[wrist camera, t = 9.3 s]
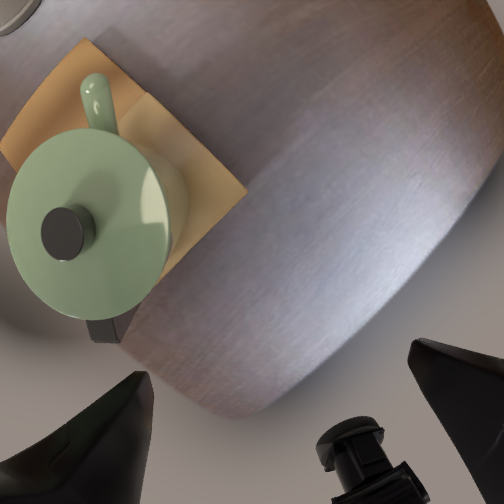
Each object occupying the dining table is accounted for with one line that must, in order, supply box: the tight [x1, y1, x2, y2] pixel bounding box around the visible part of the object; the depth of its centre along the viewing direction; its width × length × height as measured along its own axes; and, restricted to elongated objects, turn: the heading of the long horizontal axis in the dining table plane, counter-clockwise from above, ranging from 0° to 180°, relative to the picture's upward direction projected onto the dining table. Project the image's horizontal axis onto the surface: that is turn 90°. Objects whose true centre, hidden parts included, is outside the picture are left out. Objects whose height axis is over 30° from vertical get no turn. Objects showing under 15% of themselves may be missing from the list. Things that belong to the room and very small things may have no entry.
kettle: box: [7, 73, 190, 343], centre depth 11 cm, size 10×6×8 cm, turn 0°
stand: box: [0, 37, 249, 288], centre depth 15 cm, size 16×10×4 cm, turn 43°
